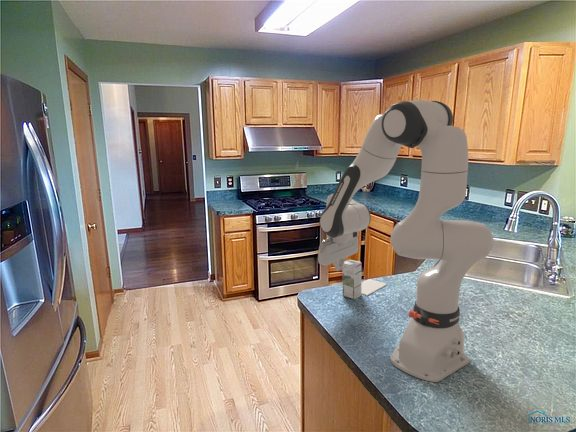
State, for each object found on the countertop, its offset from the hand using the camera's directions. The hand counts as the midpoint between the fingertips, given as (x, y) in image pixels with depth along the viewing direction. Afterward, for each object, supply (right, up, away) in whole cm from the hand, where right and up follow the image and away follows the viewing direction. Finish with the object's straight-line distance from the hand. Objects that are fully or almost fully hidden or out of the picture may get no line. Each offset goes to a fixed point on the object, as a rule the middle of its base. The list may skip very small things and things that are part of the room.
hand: (339, 269), depth 131 cm
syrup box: (+6, -12, +8) cm, 16 cm away
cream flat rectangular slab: (+15, -10, +16) cm, 24 cm away
